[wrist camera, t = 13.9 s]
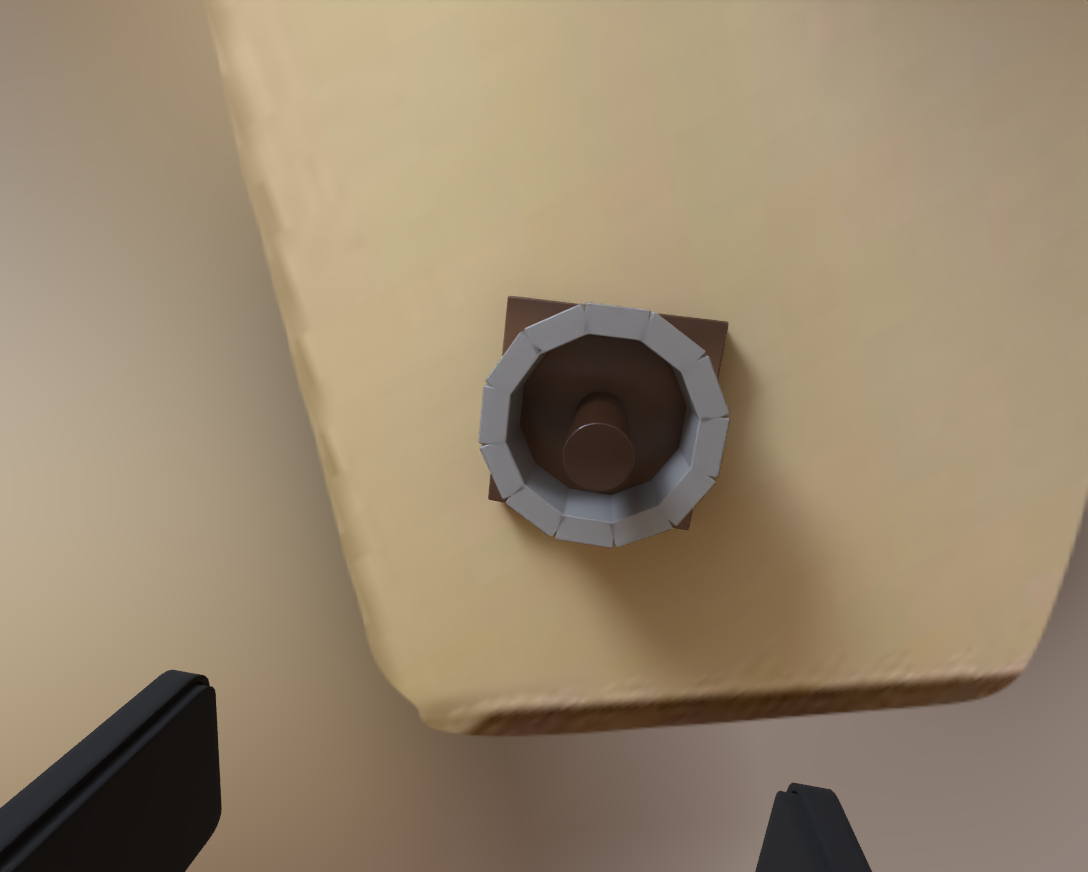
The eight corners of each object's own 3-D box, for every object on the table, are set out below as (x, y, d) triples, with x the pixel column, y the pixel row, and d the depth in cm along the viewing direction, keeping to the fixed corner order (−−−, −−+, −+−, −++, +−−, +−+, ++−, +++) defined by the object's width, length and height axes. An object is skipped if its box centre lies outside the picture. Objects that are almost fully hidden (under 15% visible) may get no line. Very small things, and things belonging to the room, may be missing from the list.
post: (513, 296, 26) (466, 288, 18) (722, 321, 25) (782, 325, 17) (493, 490, 29) (443, 568, 20) (684, 519, 28) (719, 613, 19)
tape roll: (508, 294, 25) (491, 291, 21) (729, 320, 24) (750, 322, 21) (488, 499, 27) (470, 526, 24) (689, 529, 26) (701, 563, 23)
